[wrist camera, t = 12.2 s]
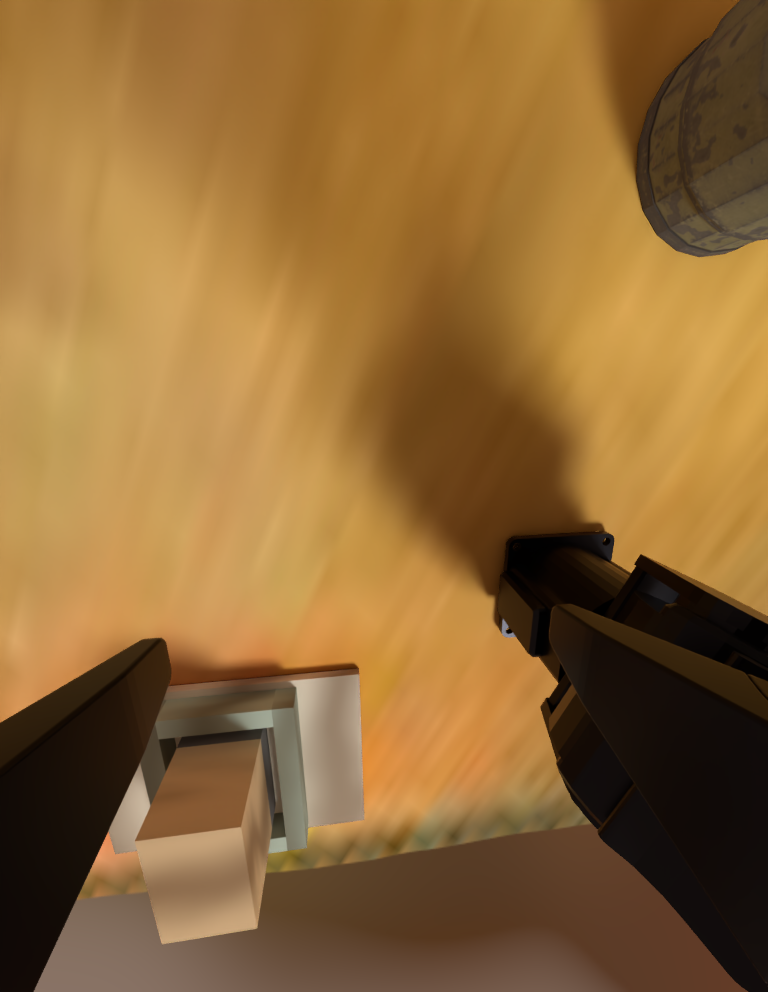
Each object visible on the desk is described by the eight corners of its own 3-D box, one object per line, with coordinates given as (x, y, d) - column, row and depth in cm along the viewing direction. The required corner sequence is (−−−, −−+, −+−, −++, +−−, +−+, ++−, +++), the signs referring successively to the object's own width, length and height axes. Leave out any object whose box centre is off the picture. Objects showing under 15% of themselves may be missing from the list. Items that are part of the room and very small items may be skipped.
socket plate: (358, 668, 23) (360, 693, 21) (363, 812, 26) (365, 845, 24) (77, 694, 21) (51, 724, 19) (119, 845, 25) (101, 883, 23)
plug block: (275, 803, 25) (256, 928, 19) (203, 812, 24) (161, 944, 18) (265, 716, 23) (240, 826, 17) (187, 725, 22) (134, 841, 16)
